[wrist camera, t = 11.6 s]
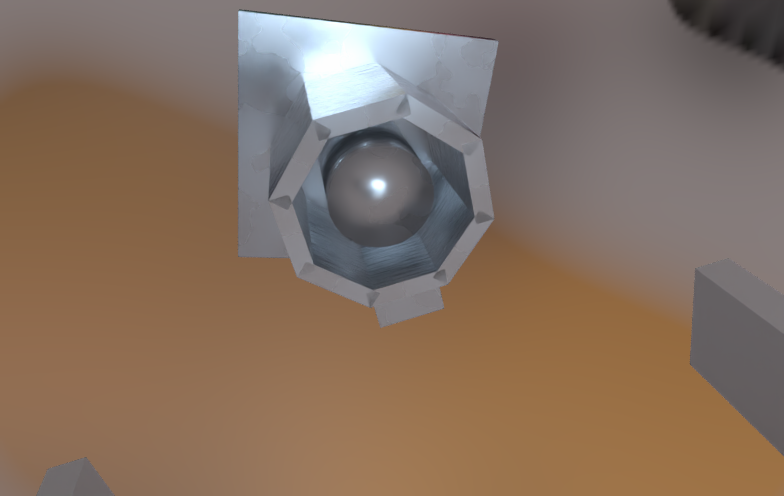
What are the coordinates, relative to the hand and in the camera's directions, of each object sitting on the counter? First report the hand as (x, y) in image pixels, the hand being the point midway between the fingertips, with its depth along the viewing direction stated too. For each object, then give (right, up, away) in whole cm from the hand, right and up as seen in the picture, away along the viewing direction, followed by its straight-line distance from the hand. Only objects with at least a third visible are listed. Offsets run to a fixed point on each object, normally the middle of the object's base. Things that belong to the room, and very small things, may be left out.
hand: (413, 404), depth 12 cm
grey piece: (-2, +7, +17) cm, 18 cm away
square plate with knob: (-2, +8, +17) cm, 19 cm away
